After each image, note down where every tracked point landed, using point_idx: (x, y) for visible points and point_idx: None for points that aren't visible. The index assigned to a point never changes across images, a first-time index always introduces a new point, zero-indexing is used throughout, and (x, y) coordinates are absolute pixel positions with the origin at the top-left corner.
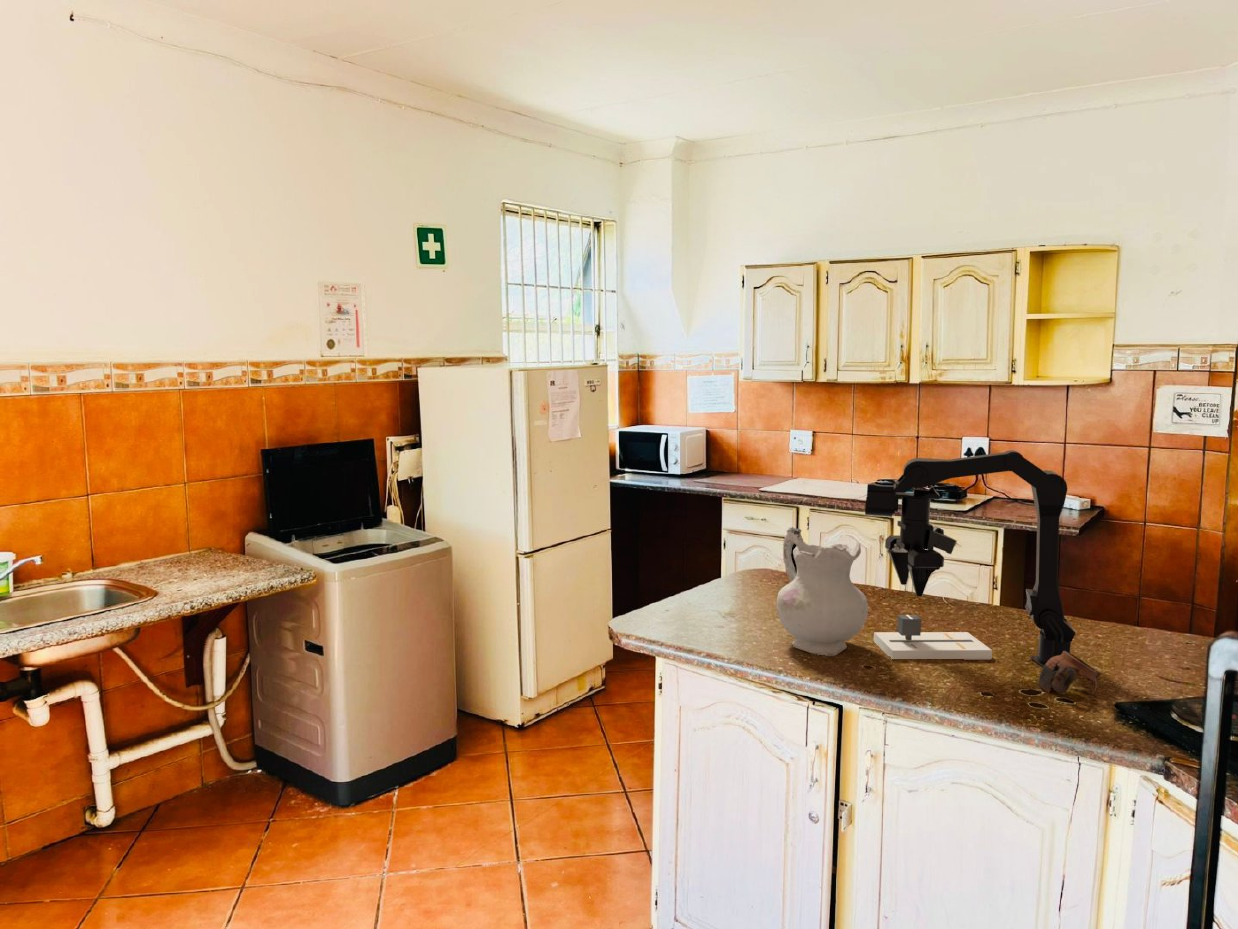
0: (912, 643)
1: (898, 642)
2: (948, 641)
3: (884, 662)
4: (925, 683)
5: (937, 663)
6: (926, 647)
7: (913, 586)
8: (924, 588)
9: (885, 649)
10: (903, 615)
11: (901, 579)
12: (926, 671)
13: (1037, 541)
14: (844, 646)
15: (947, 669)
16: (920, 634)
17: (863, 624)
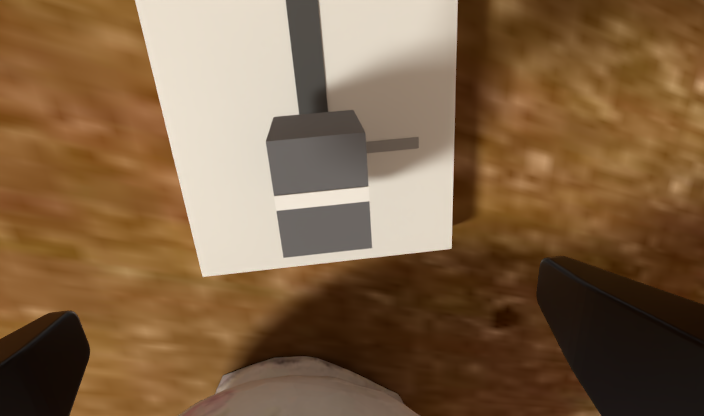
0: None
1: None
2: None
3: (464, 260)
4: (682, 170)
5: (487, 53)
6: (414, 87)
7: (598, 405)
8: (658, 293)
9: None
10: (289, 226)
11: (64, 405)
12: (572, 131)
13: None
14: (338, 374)
15: (563, 32)
16: (352, 110)
17: (389, 406)
